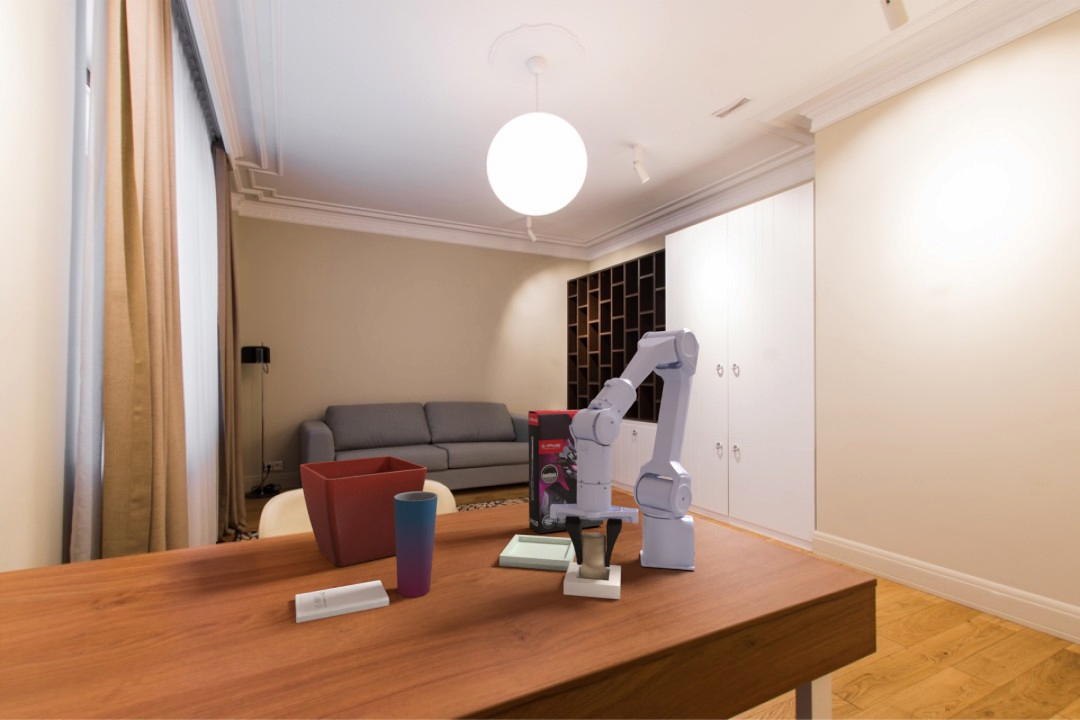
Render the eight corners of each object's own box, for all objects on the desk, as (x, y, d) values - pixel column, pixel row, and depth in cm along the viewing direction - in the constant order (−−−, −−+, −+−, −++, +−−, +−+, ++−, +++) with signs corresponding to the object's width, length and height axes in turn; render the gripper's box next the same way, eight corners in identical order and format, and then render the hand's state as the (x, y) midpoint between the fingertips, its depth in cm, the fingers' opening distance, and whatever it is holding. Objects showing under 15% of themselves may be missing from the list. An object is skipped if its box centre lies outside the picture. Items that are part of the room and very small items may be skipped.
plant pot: (322, 579, 83) (326, 478, 84) (295, 548, 98) (298, 463, 99) (427, 555, 95) (429, 467, 96) (388, 531, 110) (390, 455, 111)
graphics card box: (537, 535, 108) (539, 411, 110) (525, 527, 114) (526, 409, 116) (604, 527, 115) (604, 410, 117) (589, 519, 122) (589, 409, 123)
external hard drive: (388, 609, 73) (296, 627, 68) (379, 589, 80) (294, 603, 75) (389, 598, 73) (296, 615, 68) (379, 578, 81) (295, 592, 75)
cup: (424, 602, 74) (426, 501, 75) (383, 598, 76) (386, 499, 76) (442, 584, 81) (444, 492, 82) (404, 580, 82) (406, 490, 83)
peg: (606, 581, 83) (606, 533, 83) (605, 591, 79) (605, 540, 79) (582, 579, 84) (582, 531, 84) (580, 589, 80) (580, 538, 80)
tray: (577, 547, 100) (577, 538, 100) (570, 571, 87) (570, 560, 88) (515, 543, 103) (515, 534, 103) (499, 565, 90) (499, 555, 90)
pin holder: (620, 577, 85) (620, 565, 85) (619, 599, 76) (619, 586, 76) (570, 573, 86) (570, 561, 86) (563, 594, 78) (563, 581, 78)
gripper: (547, 483, 79) (546, 569, 79) (638, 487, 77) (638, 576, 76) (553, 475, 86) (553, 554, 86) (637, 479, 84) (637, 560, 83)
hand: (593, 563), depth 81 cm, fingers closed on peg, 4 cm apart
